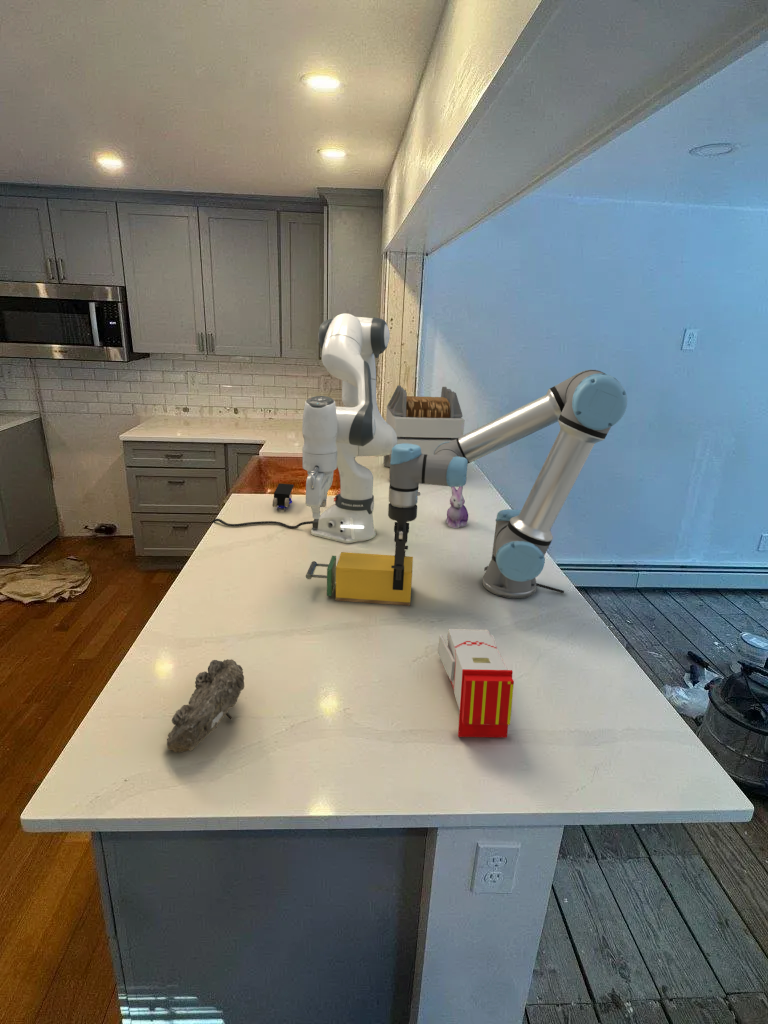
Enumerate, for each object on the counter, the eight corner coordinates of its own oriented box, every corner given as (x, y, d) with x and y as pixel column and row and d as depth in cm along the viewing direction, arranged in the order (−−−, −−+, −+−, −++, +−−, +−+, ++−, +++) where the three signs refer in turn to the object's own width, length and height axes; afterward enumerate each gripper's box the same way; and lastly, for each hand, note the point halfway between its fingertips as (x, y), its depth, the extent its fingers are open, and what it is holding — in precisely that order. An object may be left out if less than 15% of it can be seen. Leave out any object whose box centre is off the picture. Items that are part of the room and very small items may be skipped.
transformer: (382, 463, 289) (386, 382, 275) (445, 464, 293) (451, 384, 279) (390, 482, 257) (394, 392, 243) (460, 483, 261) (468, 394, 247)
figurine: (453, 530, 205) (457, 490, 200) (438, 521, 213) (441, 482, 208) (475, 527, 209) (479, 488, 204) (459, 517, 217) (462, 480, 212)
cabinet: (335, 600, 153) (335, 567, 150) (340, 583, 162) (341, 551, 159) (410, 605, 152) (412, 572, 148) (411, 588, 161) (413, 556, 158)
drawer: (305, 594, 154) (305, 567, 151) (311, 579, 162) (311, 554, 159) (396, 600, 152) (397, 573, 150) (397, 585, 161) (399, 559, 158)
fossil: (192, 660, 117) (244, 628, 112) (224, 691, 120) (276, 661, 115) (142, 746, 98) (202, 712, 93) (182, 779, 101) (242, 748, 96)
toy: (488, 613, 130) (523, 677, 101) (484, 667, 133) (517, 744, 104) (435, 612, 130) (455, 676, 101) (432, 666, 133) (451, 743, 103)
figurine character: (289, 516, 215) (294, 499, 229) (289, 498, 212) (294, 482, 225) (272, 515, 215) (278, 499, 228) (271, 497, 212) (277, 481, 225)
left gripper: (325, 473, 136) (324, 527, 140) (337, 452, 155) (336, 500, 159) (299, 471, 136) (299, 525, 141) (314, 451, 155) (314, 499, 160)
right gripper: (416, 519, 137) (411, 601, 144) (417, 491, 158) (413, 563, 166) (385, 517, 137) (382, 599, 145) (391, 489, 158) (387, 562, 166)
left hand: (319, 512), depth 150 cm, fingers open, 8 cm apart
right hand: (398, 580), depth 155 cm, fingers closed on cabinet, 10 cm apart
